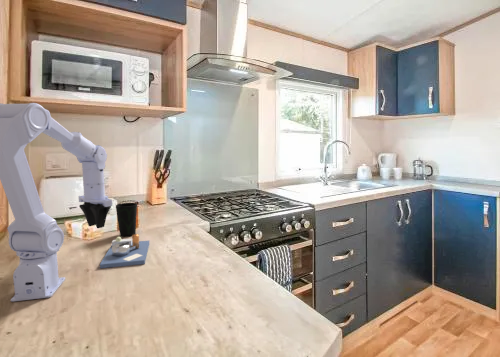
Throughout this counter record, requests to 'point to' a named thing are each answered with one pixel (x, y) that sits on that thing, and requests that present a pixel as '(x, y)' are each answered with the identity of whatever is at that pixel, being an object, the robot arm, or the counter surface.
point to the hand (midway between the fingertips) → (96, 226)
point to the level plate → (130, 259)
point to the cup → (127, 218)
